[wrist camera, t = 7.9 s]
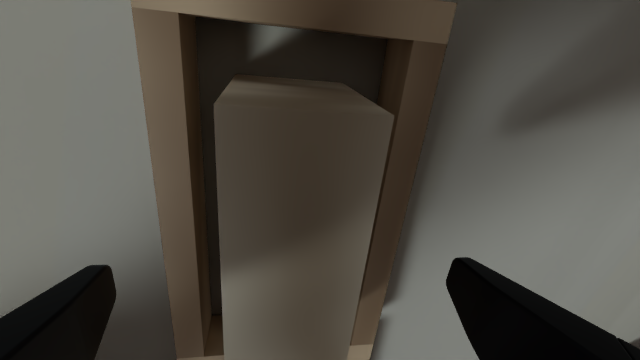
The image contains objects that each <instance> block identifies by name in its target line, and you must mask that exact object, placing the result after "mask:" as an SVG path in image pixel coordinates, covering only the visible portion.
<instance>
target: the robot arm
mask: <svg viewBox="0 0 640 360" xmlns="http://www.w3.org/2000/svg"><path fill="white" fill-rule="evenodd" d="M446 286H447V289H448V292H449V294H450V297H451V299H452V301H453V304H454V306H455V308H456V311H457V313H458V316H459V318H460V320H461V323H462V325H463V327H464V330H465V332H466V334H467V336H468V339H469V341H470V343H471V345H472V347H473V348H474V350H475V352H476V354H477V356H478V358H479V360H640V349H639V348H637V347H635V346H633V345H631V344H629V343H627V342H626V341H624V340H622V339H620V338H616V337H615V336H614V335H612V334H611V333H609V332H607V331H605V330H603V329H601V328H599V327H598V326H596V325H594V324H592V323H590V322H588V321H586V320H585V319H583V318H581V317H579V316H577V315H575V314H573V313H572V312H570V311H568V310H566V309H564V308H562V307H560V306H559V305H557V304H555V303H553V302H551V301H549V300H547V299H545V298H544V297H542V296H540V295H538V294H536V293H534V292H532V291H531V290H529V289H527V288H525V287H523V286H521V285H519V284H518V283H516V282H514V281H512V280H510V279H508V278H506V277H505V276H503V275H501V274H499V273H497V272H495V271H493V270H492V269H490V268H488V267H486V266H484V265H482V264H480V263H479V262H477V261H475V260H473V259H471V258H468V257H460V258H455V259H454V260H453V261H452V264H451V267H450V270H449V273H448V276H447V279H446ZM115 300H116V288H115V283H114V279H113V274H112V270H111V268H110V266H108V265H90V266H87V267H85V268H84V269H82V270H80V271H78V272H77V273H75V274H73V275H72V276H70V277H68V278H67V279H65V280H63V281H62V282H60V283H58V284H57V285H55V286H53V287H52V288H50V289H48V290H47V291H45V292H43V293H42V294H40V295H38V296H37V297H35V298H33V299H32V300H30V301H28V302H27V303H25V304H23V305H22V306H20V307H18V308H17V309H15V310H13V311H12V312H10V313H8V314H6V315H5V316H3V317H1V318H0V360H94V359H95V356H96V353H97V351H98V348H99V345H100V342H101V339H102V337H103V334H104V331H105V328H106V325H107V323H108V320H109V317H110V314H111V311H112V309H113V306H114V303H115Z"/></svg>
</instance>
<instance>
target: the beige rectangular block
mask: <svg viewBox="0 0 640 360" xmlns="http://www.w3.org/2000/svg"><path fill="white" fill-rule="evenodd" d="M393 121H394V115H393V114H391V113H389V112H388V111H386V110H385V109H383V108H381V107H380V106H378V105H377V104H375V103H373V102H372V101H370V100H369V99H367V98H365V97H364V96H362V95H361V94H359V93H357V92H356V91H354V90H353V89H351V88H349V87H348V86H346V85H345V84H343V83H340V82H327V81H315V80H303V79H291V78H279V77H267V76H254V75H242V74H236V75H235V76H234V77H233V79H232V80H231V81H230V83H229V84H228V85H227V87H226V88H225V89H224V91H223V92H222V93H221V95H220V96H219V97H218V99H217V100H216V102H215V103H214V127H215V151H216V174H217V198H218V222H219V246H220V270H221V293H222V317H223V341H224V360H347V356H348V351H349V346H350V341H351V336H352V331H353V326H354V321H355V315H356V310H357V305H358V300H359V295H360V290H361V285H362V280H363V274H364V269H365V264H366V259H367V254H368V249H369V244H370V239H371V233H372V228H373V223H374V218H375V213H376V208H377V203H378V198H379V192H380V187H381V182H382V177H383V172H384V167H385V162H386V157H387V151H388V146H389V141H390V136H391V131H392V126H393Z"/></svg>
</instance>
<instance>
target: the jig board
mask: <svg viewBox="0 0 640 360" xmlns="http://www.w3.org/2000/svg"><path fill="white" fill-rule="evenodd" d="M131 6H132V13H133V21H134V29H135V37H136V45H137V52H138V60H139V68H140V76H141V84H142V91H143V99H144V107H145V115H146V123H147V130H148V138H149V146H150V154H151V162H152V169H153V177H154V185H155V193H156V201H157V208H158V216H159V224H160V232H161V240H162V247H163V255H164V263H165V271H166V279H167V286H168V294H169V302H170V310H171V318H172V325H173V333H174V341H175V349H176V357H177V360H224V341H223V317H222V315H212V310H211V292H210V274H209V256H208V238H207V220H206V202H205V184H204V166H203V148H202V130H201V112H200V94H199V76H198V58H197V40H196V22H195V17H202V18H210V19H219V20H227V21H236V22H245V23H253V24H262V25H270V26H279V27H288V28H296V29H305V30H313V31H322V32H330V33H339V34H348V35H356V36H365V37H373V38H382V39H388V42H387V48H386V54H385V59H384V65H383V71H382V77H381V82H380V88H379V94H378V100H377V105H378V106H380V107H381V108H383V109H385V110H386V111H388V112H389V113H391V114H393V115H394V121H393V126H392V131H391V136H390V141H389V146H388V151H387V157H386V162H385V167H384V172H383V177H382V182H381V187H380V192H379V198H378V203H377V208H376V213H375V218H374V223H373V228H372V233H371V239H370V244H369V249H368V254H367V259H366V264H365V269H364V274H363V280H362V285H361V290H360V295H359V300H358V305H357V310H356V315H355V321H354V326H353V331H352V336H351V341H350V346H349V351H348V356H347V360H370V356H371V352H372V348H373V344H374V340H375V336H376V332H377V328H378V324H379V319H380V315H381V311H382V307H383V303H384V299H385V295H386V291H387V287H388V283H389V279H390V275H391V271H392V267H393V263H394V259H395V255H396V250H397V246H398V242H399V238H400V234H401V230H402V226H403V222H404V218H405V214H406V210H407V206H408V202H409V198H410V194H411V190H412V186H413V182H414V177H415V173H416V169H417V165H418V161H419V157H420V153H421V149H422V145H423V141H424V137H425V133H426V129H427V125H428V121H429V117H430V113H431V108H432V104H433V100H434V96H435V92H436V88H437V84H438V80H439V76H440V72H441V68H442V64H443V60H444V56H445V52H446V48H447V44H448V39H449V35H450V31H451V27H452V23H453V19H454V15H455V11H456V7H457V3H453V2H446V1H439V0H131Z"/></svg>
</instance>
